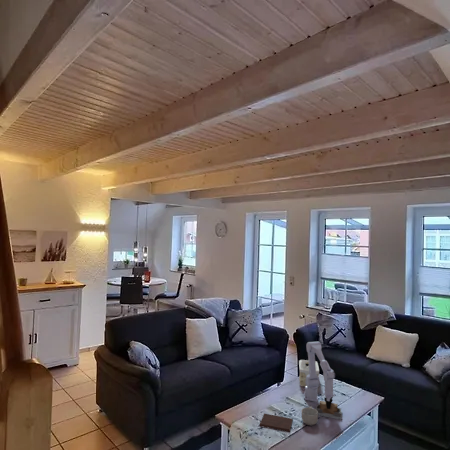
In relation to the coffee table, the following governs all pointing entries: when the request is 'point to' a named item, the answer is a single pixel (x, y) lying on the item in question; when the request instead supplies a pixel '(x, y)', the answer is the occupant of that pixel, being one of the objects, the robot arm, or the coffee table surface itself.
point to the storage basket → (305, 371)
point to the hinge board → (336, 414)
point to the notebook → (276, 422)
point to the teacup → (309, 416)
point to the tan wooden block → (330, 411)
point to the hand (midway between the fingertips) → (328, 406)
